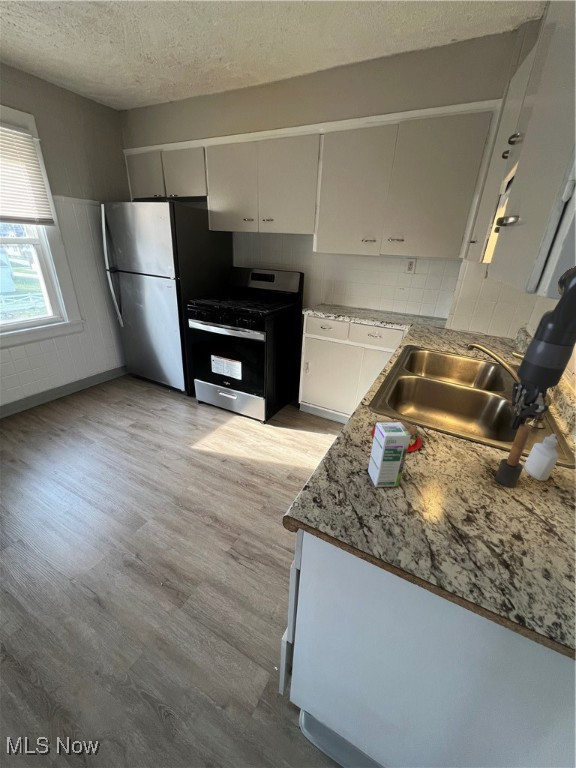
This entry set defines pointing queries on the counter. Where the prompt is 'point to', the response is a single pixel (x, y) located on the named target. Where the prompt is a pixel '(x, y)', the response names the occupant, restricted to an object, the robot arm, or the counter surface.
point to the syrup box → (388, 454)
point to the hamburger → (414, 437)
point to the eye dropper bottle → (542, 458)
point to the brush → (513, 459)
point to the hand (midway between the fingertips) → (515, 427)
